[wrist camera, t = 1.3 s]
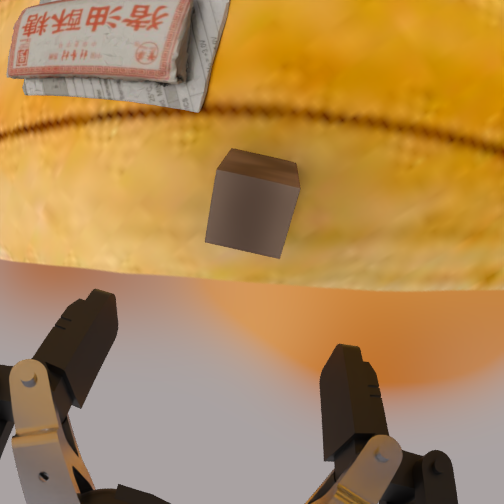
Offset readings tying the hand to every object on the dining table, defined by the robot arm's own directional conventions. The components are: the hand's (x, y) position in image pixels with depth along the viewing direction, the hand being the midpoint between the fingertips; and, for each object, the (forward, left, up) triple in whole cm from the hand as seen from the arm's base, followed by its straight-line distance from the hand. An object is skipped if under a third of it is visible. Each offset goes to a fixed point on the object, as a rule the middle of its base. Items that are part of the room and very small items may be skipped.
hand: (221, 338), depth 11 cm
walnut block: (0, 0, -16) cm, 16 cm away
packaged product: (+14, -10, -17) cm, 24 cm away
